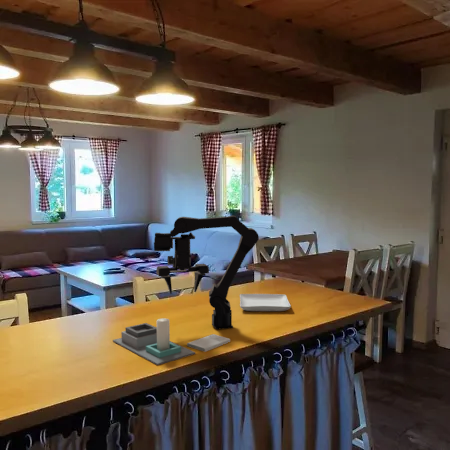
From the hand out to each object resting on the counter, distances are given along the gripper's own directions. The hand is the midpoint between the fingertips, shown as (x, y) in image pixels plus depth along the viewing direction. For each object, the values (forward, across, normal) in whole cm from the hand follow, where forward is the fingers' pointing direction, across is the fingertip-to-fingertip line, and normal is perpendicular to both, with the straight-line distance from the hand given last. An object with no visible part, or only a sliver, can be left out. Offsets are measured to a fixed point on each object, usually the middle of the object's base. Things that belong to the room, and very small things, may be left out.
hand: (183, 292), depth 173 cm
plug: (+12, +12, +24) cm, 30 cm away
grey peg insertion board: (+13, +14, +18) cm, 27 cm away
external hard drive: (+14, -4, +21) cm, 25 cm away
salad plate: (+14, -40, -18) cm, 46 cm away
